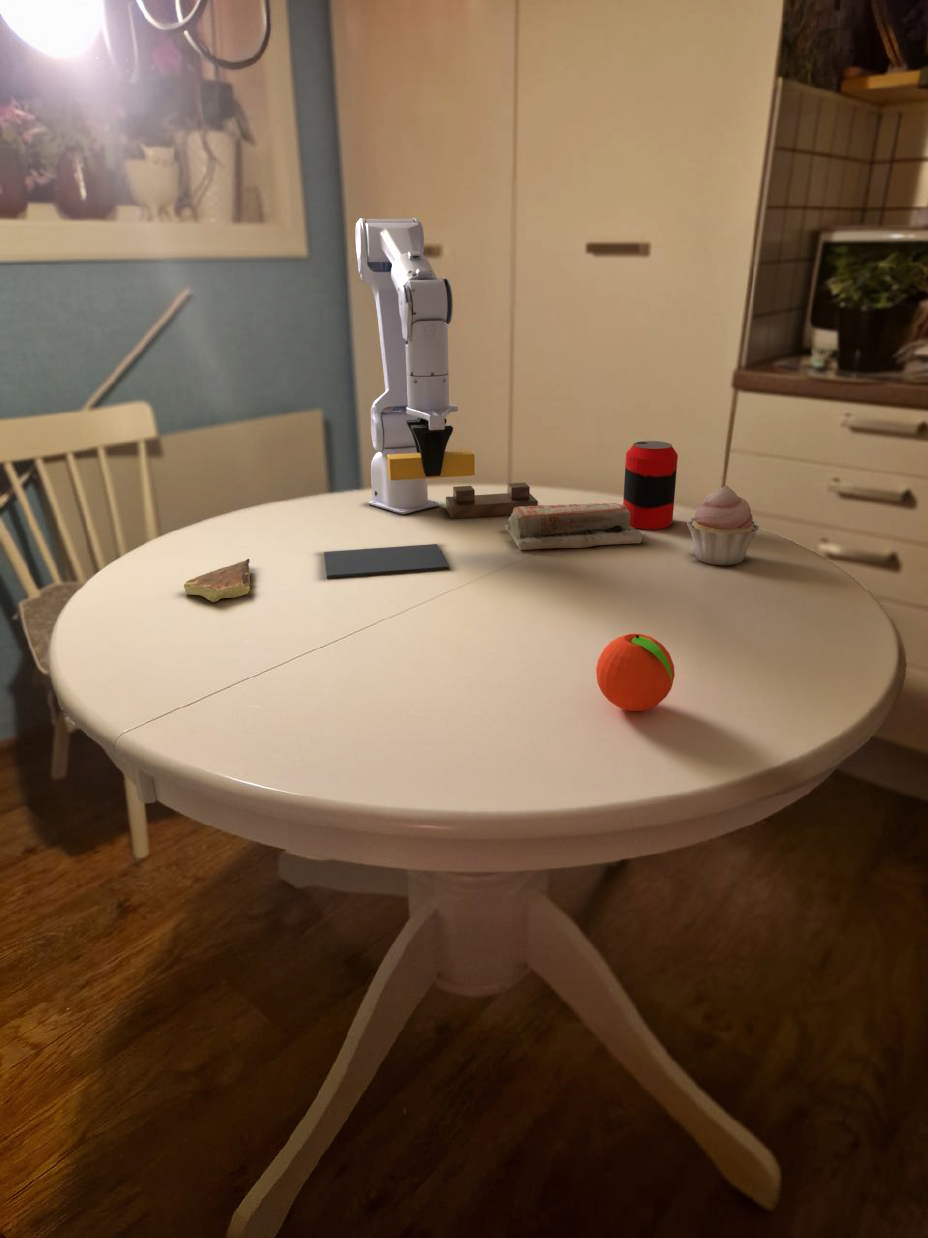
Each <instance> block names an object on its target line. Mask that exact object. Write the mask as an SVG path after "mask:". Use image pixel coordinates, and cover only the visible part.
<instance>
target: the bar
mask: <svg viewBox="0 0 928 1238" xmlns="http://www.w3.org/2000/svg"><path fill="white" fill-rule="evenodd" d="M475 460H476V459H475V454H474V453H473V452H472V450H470V449H462V450H445V453H444V459H443V465H442V470H441V474H440V476H429V477H426V476H425V473H424V470H423V466H422V460H421V454H420V453H405V454H387V466H388V476H389V478H390V480H408V479H425V478H427V479H438V478H439V479H440V478H441V479H442V478H457V477H471V476H472V477H473V476H476V475H475V473H476V472H475V469H476V468H475V467H476V466H475V464H476V463H475V462H476V461H475Z"/></svg>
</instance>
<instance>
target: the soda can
mask: <svg viewBox="0 0 928 1238" xmlns="http://www.w3.org/2000/svg"><path fill="white" fill-rule="evenodd" d="M678 458H679V454H678V453H677V451H676V449H675V448H674V447H673V445H672V444H671V443H669V442H666V441H657V440H643V441H637V442H636V441H635V442H634V443H632V446H630V448H629V449H628V450H627V451H626V453H625V462H624V465H625V466H624V483H623V484H624V485H623V499H622V505H625V506H626V508H627V510H628V511H629V512H630V523H629V525H631V526H632V527H634V528H635V529H637V530H639V529H640V530H661V529H665V528H668V527H670V526H671V525H672V524H673V522H674V521H673V520H674V510H675V509H674V508H675V495H676V485H677V484H676V482H677V471H678V460H679V459H678Z"/></svg>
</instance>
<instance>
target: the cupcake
mask: <svg viewBox="0 0 928 1238" xmlns="http://www.w3.org/2000/svg"><path fill="white" fill-rule="evenodd" d="M686 525H687V527H688V530H689V532H690V534H691V539H692V543H693V544H692V545H693V550H694V557H695V558H696V559H697V560H698V561H700V562H702V563H705V564H710V565H714V566H733V565H738V564H740V563H742V562H743V561H744V559H745V557H746V554H747V551H748V549H749V547H750V544H751V541H752V539H753V538H754V536H755V534H756V533H757V532H758V530H759V529H760V526H759V525H757V524H755V521H754V520H753V514H752V509H751V507H750V504H749V502H748V501H747V500H746V499H744V498H743V497H741V496H738V495H737V493H736V492H735V491H734V490H733V489H732V488H731V487H729V486H728V485H724V486H723V487H721V488H720V489H718V490H715V491H713V492H712V493H710V494H708V495H707V496H706V497H705V499H704V502H703V503H702V504H700V506H698V507H697V508H696V510H695V513H694V517H691V518H690V520H688V521H686Z"/></svg>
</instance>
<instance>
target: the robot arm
mask: <svg viewBox="0 0 928 1238" xmlns="http://www.w3.org/2000/svg"><path fill="white" fill-rule="evenodd" d="M423 227H424V226H423V224H422V222H421V221H420V220H419V218H418V217H413V218H383V219H381V218H368V219H367V218H364V217H360V218H359V219H358V221H357V222H356V224H355V231H354V232H355V239H354V240H355V249H356V258H357V268H358V273H359V274H360V275H359V276H360V280H361V282H363V283H365V284H367V285H369V286H370V287H371V289H372V293H373V297H374V301H375V307H376V315H377V325H378V333H379V334H378V335H379V343H380V353H381V361H382V371H383V380H384V389H385V391H384V392H383V393H382V394H381V395H379V396H378V398H376V399H375V400H374V401H373V402H372V404H371V407H370V435H371V442H372V447H373V449H374V450H375V451H376V453H375V454H374V455H373V458H372V459H371V463H370V482H371V500H368V503H367V504H368V505H371V506H374V507H377V508H380V509H384V510H387V511H390V512H393V513H397V514H400V515H407V514H410V513H415V512H419V511H422V510H426V509H430V508H433V507H439V506H440V502H438V501H435V500H431V499H429V493H428V491H429V490H428V478H425V479H408V480H390V478H389V476H388V466H387V454H405V453H420V454H421V460H422V466H423V470H424V473H425V476H426V477H429V476H440V474H441V470H442V465H443V459H444V453H445V451H446V449H447V446H448V442H449V440H450V437H451V435H452V434H453V432H454V427H453V426H452V425H446V424H447V421H448V420H447V418H446V417H448V415H450V414H451V413H455V412H458V411H459V406H458V405H457V404H450V383H449V381H450V380H449V337H448V336H449V335H448V334H449V333H448V332H449V331H448V325H450V324H451V322H452V320H453V319H452V318H453V312H454V311H453V310H454V299H453V298H454V297H453V290H452V285H451V283H450V281H449V278H447V277H440V278H438V277H437V275H436V272H435V270H434V269H433V267H432V264H431V262H430V260H429V259H428V258H427V257H426V256H425V255H424V252H425V235H424V228H423Z"/></svg>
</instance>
